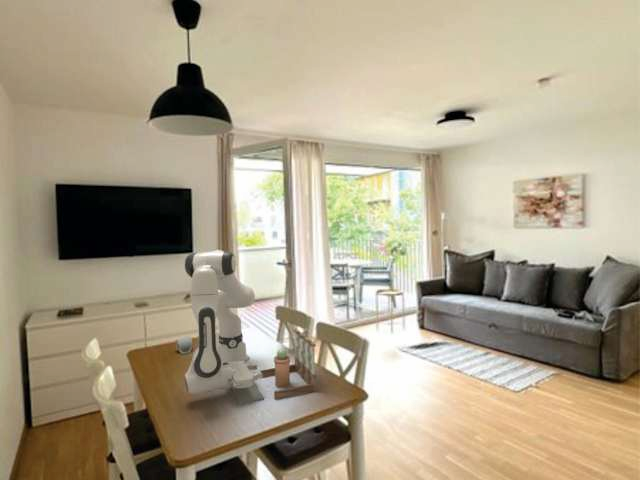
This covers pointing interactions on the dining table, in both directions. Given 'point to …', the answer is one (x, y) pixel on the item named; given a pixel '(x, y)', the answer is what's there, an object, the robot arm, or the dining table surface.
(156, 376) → the dining table surface
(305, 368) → the brown wooden frame
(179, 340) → the ceramic mug
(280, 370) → the seedling pot
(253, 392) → the potting mat
